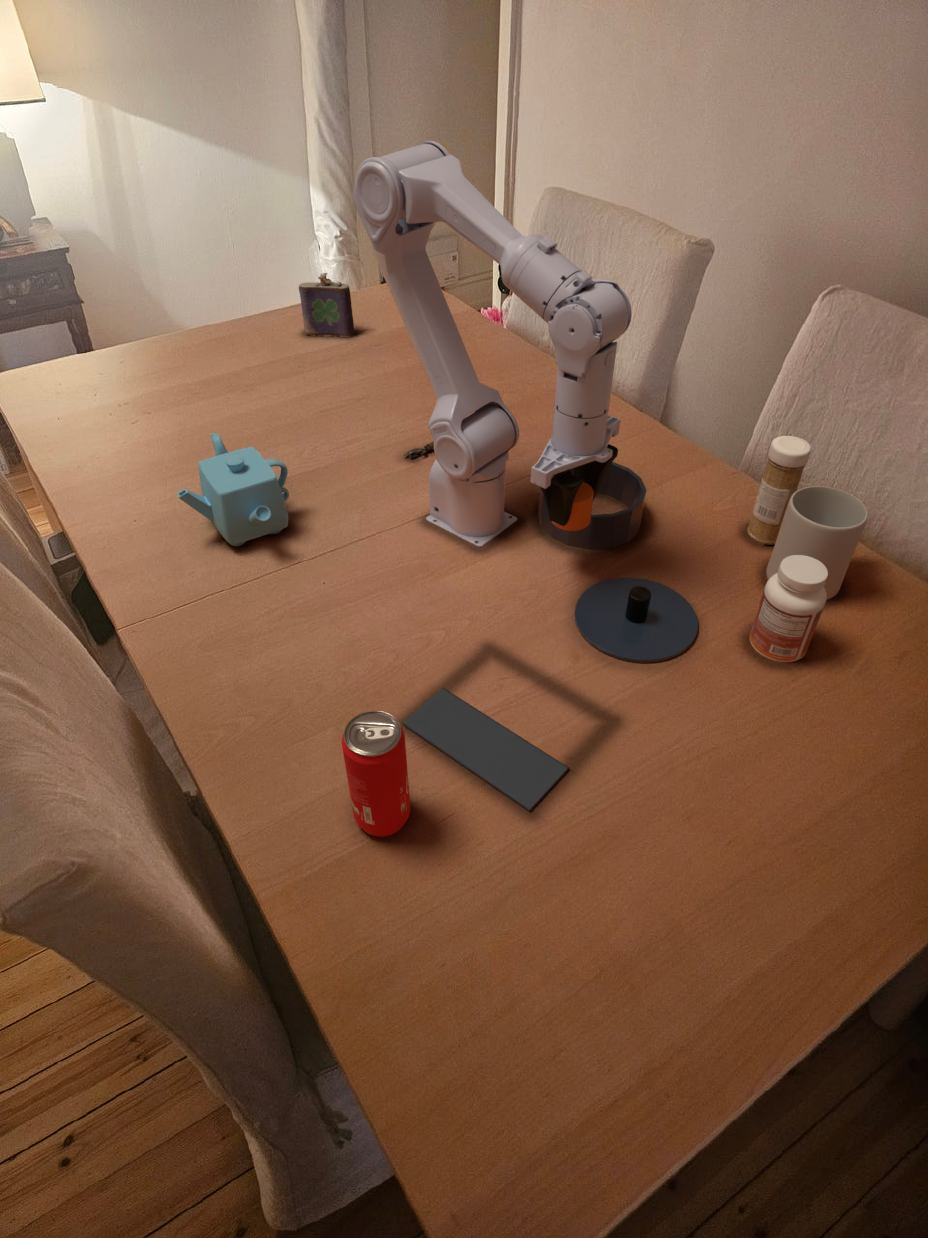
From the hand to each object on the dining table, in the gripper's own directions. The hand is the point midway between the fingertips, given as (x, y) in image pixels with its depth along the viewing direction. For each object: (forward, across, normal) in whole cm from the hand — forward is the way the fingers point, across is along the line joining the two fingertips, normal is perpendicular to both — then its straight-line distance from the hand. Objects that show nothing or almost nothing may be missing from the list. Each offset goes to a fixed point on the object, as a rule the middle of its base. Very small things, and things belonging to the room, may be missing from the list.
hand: (570, 511), depth 95 cm
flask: (+8, +29, +72) cm, 78 cm away
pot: (+8, +10, +3) cm, 13 cm away
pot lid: (+8, -3, -12) cm, 15 cm away
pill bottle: (+9, +4, -26) cm, 28 cm away
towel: (+8, -24, -10) cm, 27 cm away
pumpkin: (+1, 0, 0) cm, 1 cm away
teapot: (+9, -20, +37) cm, 43 cm away
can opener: (+8, +10, +31) cm, 34 cm away
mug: (+9, +18, -24) cm, 31 cm away
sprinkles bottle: (+9, +22, -16) cm, 28 cm away
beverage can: (+9, -40, -7) cm, 42 cm away
